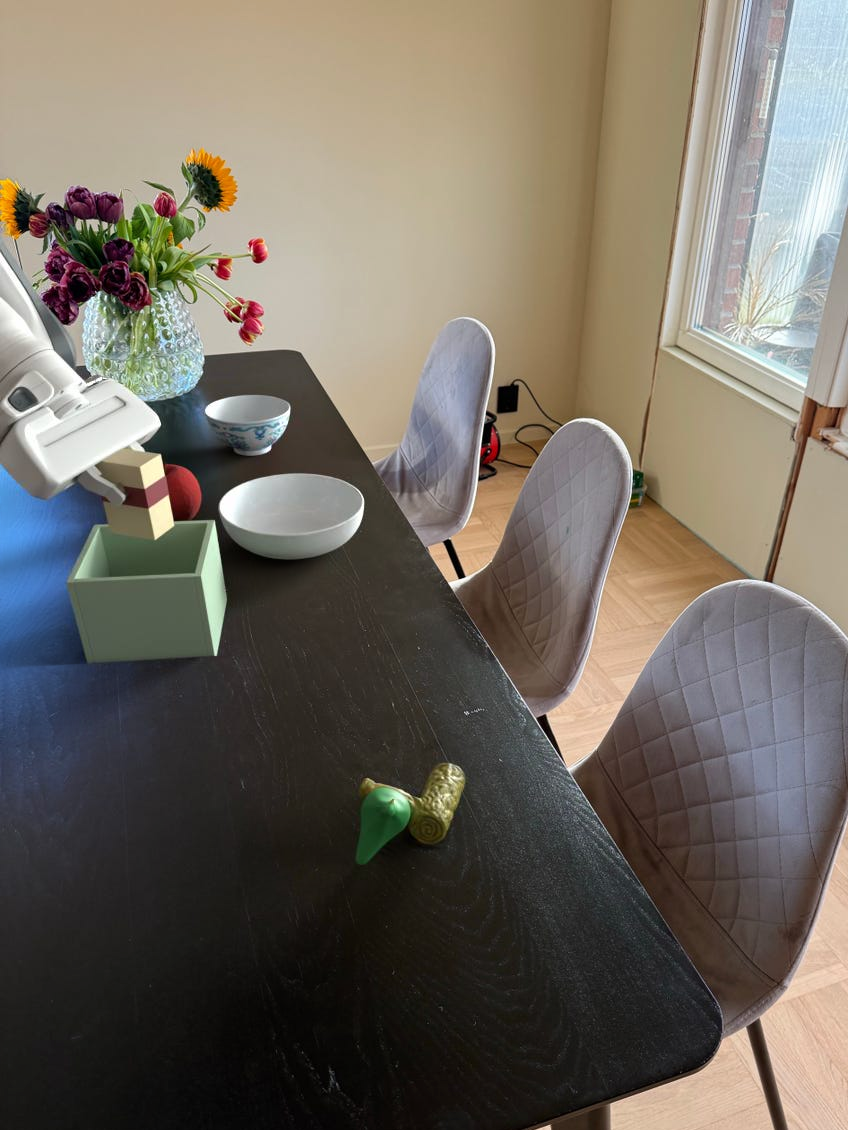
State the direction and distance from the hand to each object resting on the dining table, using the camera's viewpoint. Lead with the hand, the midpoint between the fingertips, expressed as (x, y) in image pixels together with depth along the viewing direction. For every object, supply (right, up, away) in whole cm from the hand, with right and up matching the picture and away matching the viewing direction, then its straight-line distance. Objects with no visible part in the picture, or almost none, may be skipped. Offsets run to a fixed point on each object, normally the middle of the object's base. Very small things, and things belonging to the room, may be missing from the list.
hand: (138, 491), depth 101 cm
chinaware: (-3, +18, +63) cm, 65 cm away
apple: (-9, +2, +37) cm, 39 cm away
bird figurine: (+33, -36, -18) cm, 53 cm away
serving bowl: (+11, -3, +32) cm, 34 cm away
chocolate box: (-1, -4, +3) cm, 5 cm away
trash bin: (-1, -16, +11) cm, 19 cm away
